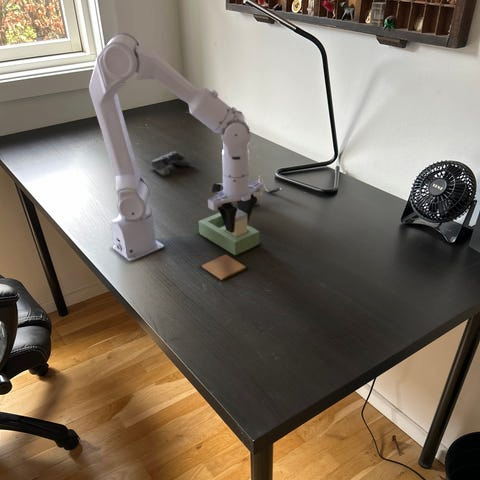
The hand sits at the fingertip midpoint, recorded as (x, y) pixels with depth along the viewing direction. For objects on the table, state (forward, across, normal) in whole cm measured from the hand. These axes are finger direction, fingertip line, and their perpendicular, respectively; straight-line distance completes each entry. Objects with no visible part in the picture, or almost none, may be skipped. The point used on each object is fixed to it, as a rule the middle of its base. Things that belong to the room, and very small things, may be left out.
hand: (236, 228), depth 115 cm
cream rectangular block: (+4, 0, 0) cm, 4 cm away
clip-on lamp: (+4, +18, +16) cm, 24 cm away
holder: (+4, 0, +3) cm, 5 cm away
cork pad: (+4, -9, -6) cm, 12 cm away
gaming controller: (+4, +14, +48) cm, 50 cm away
